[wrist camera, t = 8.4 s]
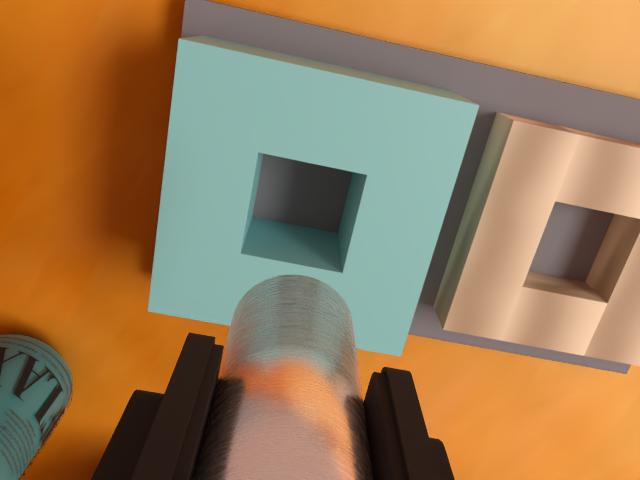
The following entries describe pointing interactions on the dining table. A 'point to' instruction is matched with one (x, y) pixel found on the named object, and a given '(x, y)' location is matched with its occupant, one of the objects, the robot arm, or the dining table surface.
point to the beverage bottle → (29, 399)
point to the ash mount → (525, 234)
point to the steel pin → (287, 390)
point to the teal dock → (312, 147)
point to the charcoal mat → (492, 96)
